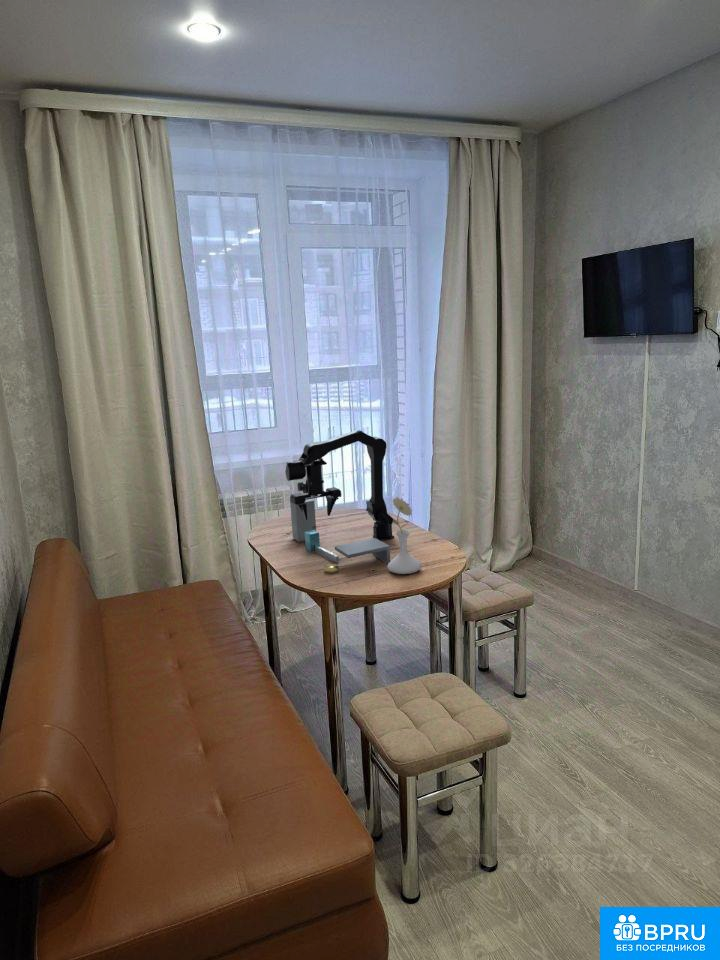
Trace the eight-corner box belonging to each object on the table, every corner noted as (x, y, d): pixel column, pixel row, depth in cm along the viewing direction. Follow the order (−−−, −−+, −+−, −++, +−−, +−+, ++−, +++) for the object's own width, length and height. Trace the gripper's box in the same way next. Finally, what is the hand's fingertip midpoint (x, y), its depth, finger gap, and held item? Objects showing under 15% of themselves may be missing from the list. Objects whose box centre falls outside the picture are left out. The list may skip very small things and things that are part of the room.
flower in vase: (426, 574, 218) (423, 500, 212) (394, 579, 215) (390, 505, 209) (412, 561, 230) (409, 492, 224) (381, 566, 227) (377, 496, 221)
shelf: (375, 554, 240) (374, 538, 238) (390, 562, 230) (389, 545, 229) (335, 563, 233) (334, 546, 232) (349, 572, 223) (348, 554, 222)
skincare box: (298, 542, 259) (295, 503, 255) (291, 538, 265) (288, 500, 261) (318, 538, 262) (315, 500, 259) (311, 534, 269) (308, 496, 265)
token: (333, 568, 229) (332, 562, 228) (341, 572, 225) (341, 566, 224) (321, 572, 226) (320, 566, 225) (329, 575, 222) (329, 570, 221)
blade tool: (315, 547, 251) (313, 530, 250) (342, 561, 234) (341, 542, 233) (305, 549, 249) (304, 532, 248) (332, 564, 232) (331, 545, 231)
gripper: (328, 470, 255) (331, 509, 259) (283, 477, 247) (286, 517, 251) (340, 475, 246) (343, 515, 249) (294, 482, 238) (297, 524, 241)
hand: (317, 517), depth 248 cm, fingers open, 9 cm apart
